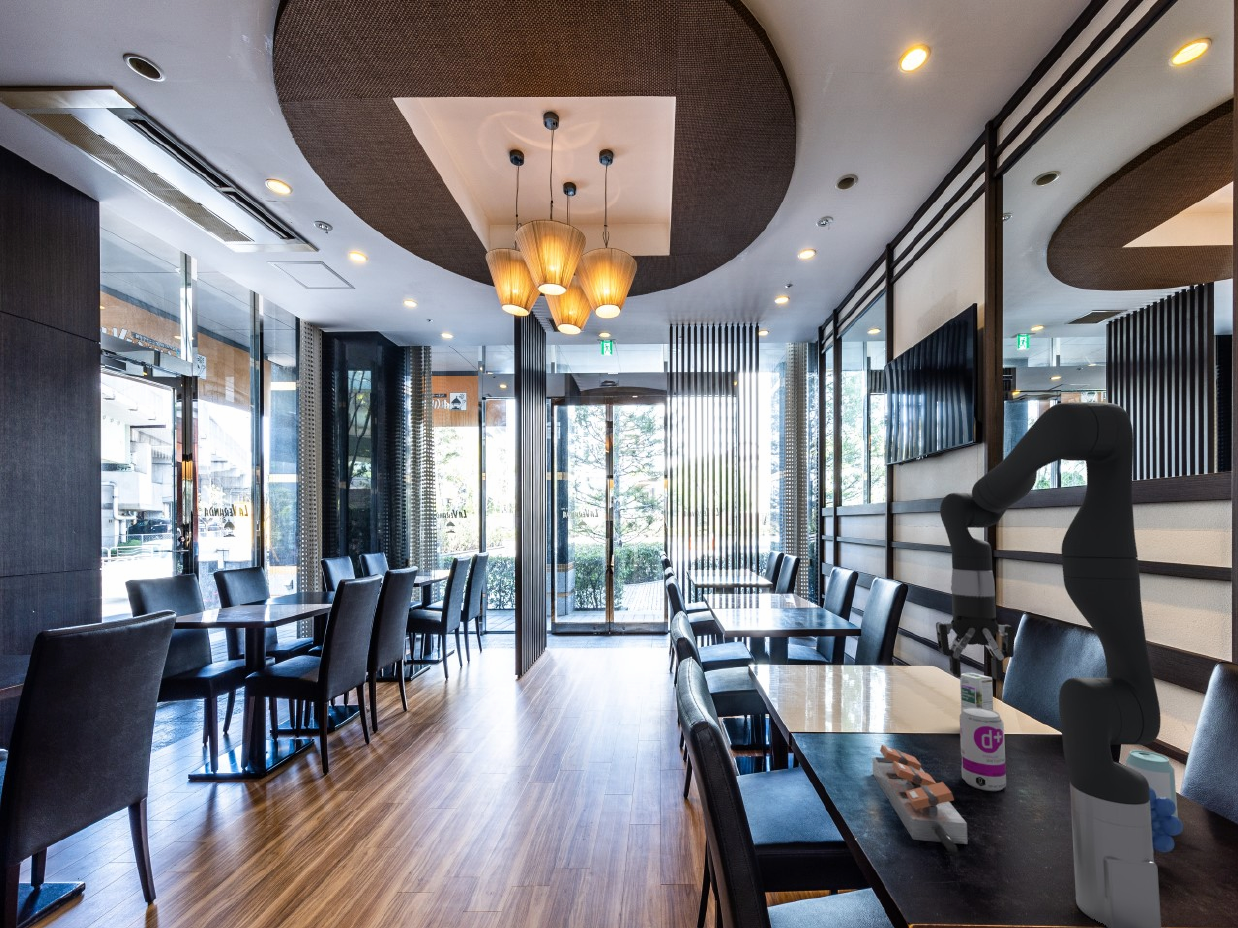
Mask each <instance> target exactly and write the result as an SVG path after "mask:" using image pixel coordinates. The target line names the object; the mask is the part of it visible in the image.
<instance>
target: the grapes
mask: <svg viewBox="0 0 1238 928" xmlns="http://www.w3.org/2000/svg"><path fill="white" fill-rule="evenodd" d="M1149 791H1150V809H1151V827H1152V843H1153V854H1154V853H1155V851H1158V852H1160V853H1169V852H1171V851H1172V850H1173V849H1174V848H1175V841H1174V838H1173V837H1172V836H1178V835H1180V834H1181V833H1182V832H1183V829H1184V825H1183V822H1182V820H1181V819H1180V818H1179V817H1178V818H1177V817H1174V816H1171V815H1173V814H1174V813H1175V810H1176V806H1175V804H1174V802H1173V801H1172V800H1171V799H1169V798H1166V797H1159V798H1156V794H1155V791H1154V790H1153V789H1152V788H1151V787H1149ZM1154 849H1155V850H1154Z"/></svg>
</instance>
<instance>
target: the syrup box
mask: <svg viewBox="0 0 1238 928" xmlns="http://www.w3.org/2000/svg"><path fill="white" fill-rule="evenodd" d="M959 679H960V680H959V681H960V684H959V686H960V687H959V688H960V710H961V711H960V712H961V713H962V711H963V708H967V707H977V708H985V709H989V710H992V711H994V696H993V677H992V676H987V675H984V674H979V673H975V672H964V673H961V678H959ZM961 713H960V714H961Z"/></svg>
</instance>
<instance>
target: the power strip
mask: <svg viewBox="0 0 1238 928" xmlns="http://www.w3.org/2000/svg"><path fill="white" fill-rule="evenodd" d="M892 765H893V761H890V760H888V759H885V757H881V756H880V757H879V756H878V757H877V756H876V757H872V775H873V777H874V778H875V780H876V781H877V784H878V785H879V787H880V788H881V790H882V791H883V793H884V794H885V796H886V798H887V799H889V800H888V801H889V803H890V805H891V806H892V808H893V809H894V812H896V813H897V815H898V817H899V819H900V820H901V822H902V825H904V827H905V829H906V830H907V831H908V833H909V836H910V837H911V838H912V840H917V841H926V842H927V841H928V842H938V843H942V844H943V846H944V848H946V851H947V852H948V853H949V854H950V855H954V856H955V855H957V854H958V852H959V849H958V847H957V845H956V844H959V845H961V844H962V845H963V844H964V845H968V823H967V822H966V820H965V819H964V818H963V817H962V815H961V814H960V813H959V812H958V810H957V809H956V808H955V807H954V805H952V803H951V801H948V802H944V803H940V804H938V805H936V806H928V807H924V808H920V809H915V808H914V806H913V805H912V804H911V802H910V801H909V799H908V797H907V794H906V791H908V790H912V789H916V788H920V787H922V785H916V784H914V783H913V782H911V781H909V780H906V779H904V778H901V777H898V776H897V774H896V773H895V771H894V770H893V768H892ZM920 771H922V772H924V773H926V772H925V771H924V769H923V768H922V767H921V768H920Z"/></svg>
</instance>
